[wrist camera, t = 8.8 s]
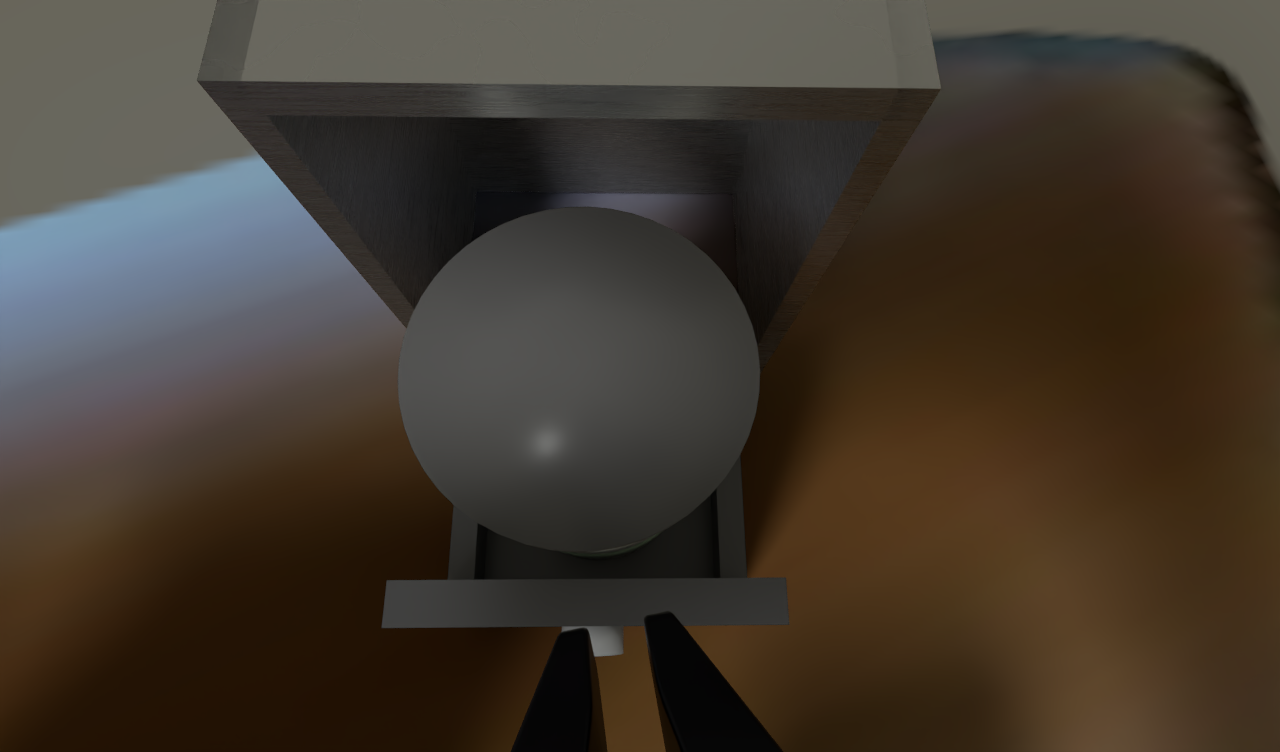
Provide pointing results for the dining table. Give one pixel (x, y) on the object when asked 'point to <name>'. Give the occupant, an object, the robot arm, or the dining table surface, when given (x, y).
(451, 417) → the cup
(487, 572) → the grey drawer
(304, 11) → the caddy
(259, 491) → the dining table surface
